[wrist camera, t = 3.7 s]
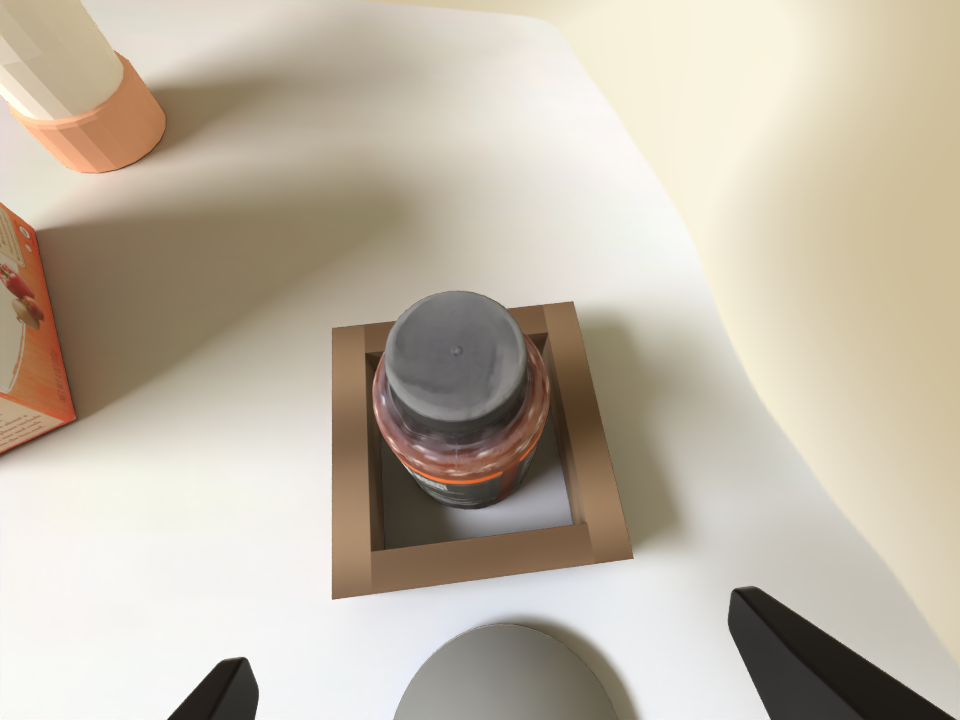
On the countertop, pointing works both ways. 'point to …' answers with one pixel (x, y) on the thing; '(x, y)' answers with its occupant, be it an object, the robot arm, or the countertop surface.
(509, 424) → the supplement bottle
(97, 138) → the pepper shaker
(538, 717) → the grey round disc
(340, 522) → the walnut holder
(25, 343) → the cracker box
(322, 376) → the countertop surface
